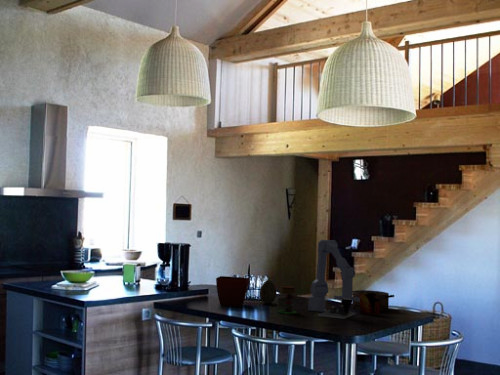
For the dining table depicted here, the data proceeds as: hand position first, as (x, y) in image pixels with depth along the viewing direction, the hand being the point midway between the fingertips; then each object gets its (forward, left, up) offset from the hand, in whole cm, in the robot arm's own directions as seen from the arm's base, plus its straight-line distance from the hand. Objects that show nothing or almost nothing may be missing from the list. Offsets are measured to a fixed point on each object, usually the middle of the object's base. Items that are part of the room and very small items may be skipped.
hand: (346, 313), depth 361 cm
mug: (+8, +25, -3) cm, 26 cm away
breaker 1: (-5, +14, -1) cm, 15 cm away
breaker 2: (-5, +7, -1) cm, 9 cm away
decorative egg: (-59, +25, -3) cm, 65 cm away
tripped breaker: (-8, 0, -1) cm, 8 cm away
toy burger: (-34, -3, -3) cm, 35 cm away
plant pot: (-73, +2, -3) cm, 73 cm away
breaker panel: (-7, +7, -3) cm, 11 cm away
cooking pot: (+2, +47, -3) cm, 47 cm away
